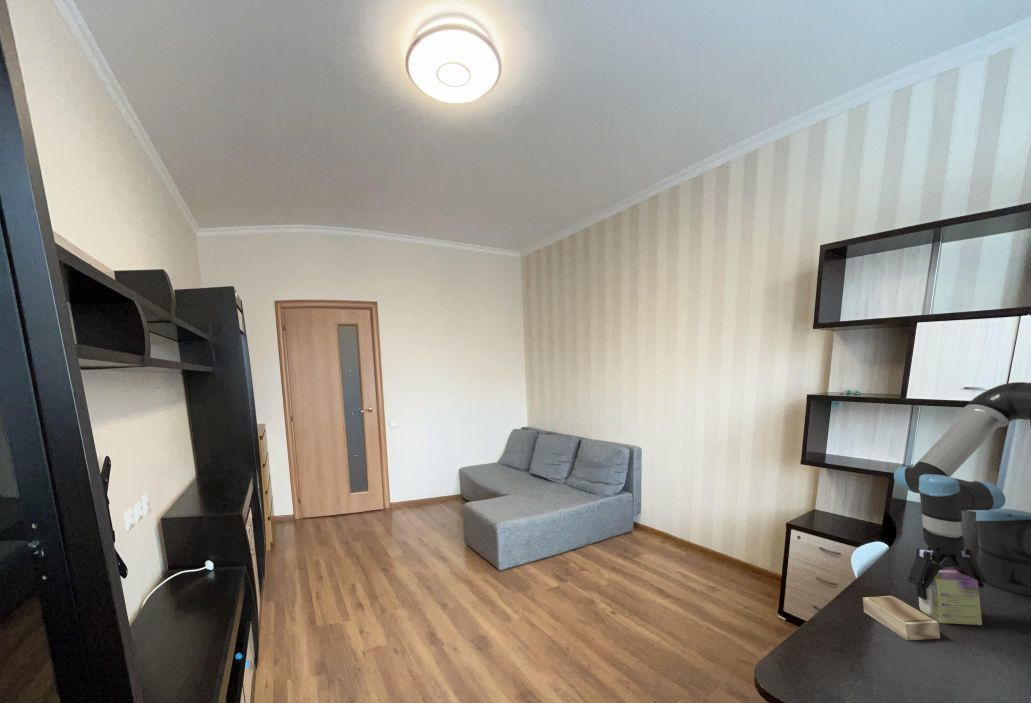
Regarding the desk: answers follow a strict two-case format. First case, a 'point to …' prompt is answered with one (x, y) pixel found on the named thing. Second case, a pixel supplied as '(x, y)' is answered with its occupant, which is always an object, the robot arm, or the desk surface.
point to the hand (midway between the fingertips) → (949, 609)
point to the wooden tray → (901, 618)
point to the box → (955, 598)
